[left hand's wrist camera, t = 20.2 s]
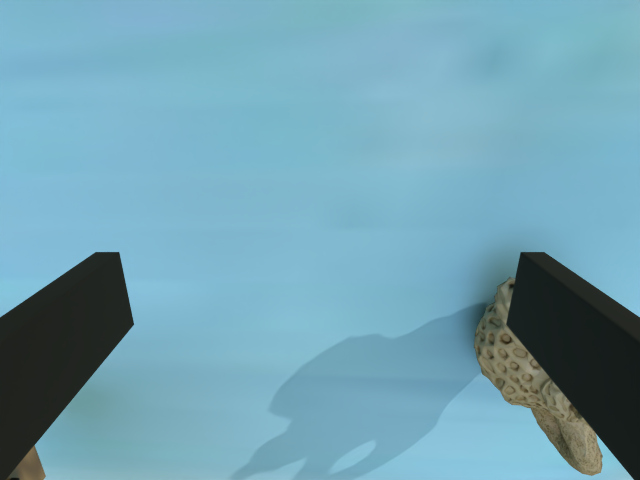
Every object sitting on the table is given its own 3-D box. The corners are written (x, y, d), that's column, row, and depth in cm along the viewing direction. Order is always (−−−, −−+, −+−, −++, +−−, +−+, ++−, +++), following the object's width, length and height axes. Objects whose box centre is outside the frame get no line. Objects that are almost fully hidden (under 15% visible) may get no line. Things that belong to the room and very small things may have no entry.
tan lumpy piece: (436, 269, 42) (494, 355, 28) (538, 229, 41) (654, 299, 26) (487, 404, 49) (554, 527, 35) (576, 375, 47) (684, 491, 33)
